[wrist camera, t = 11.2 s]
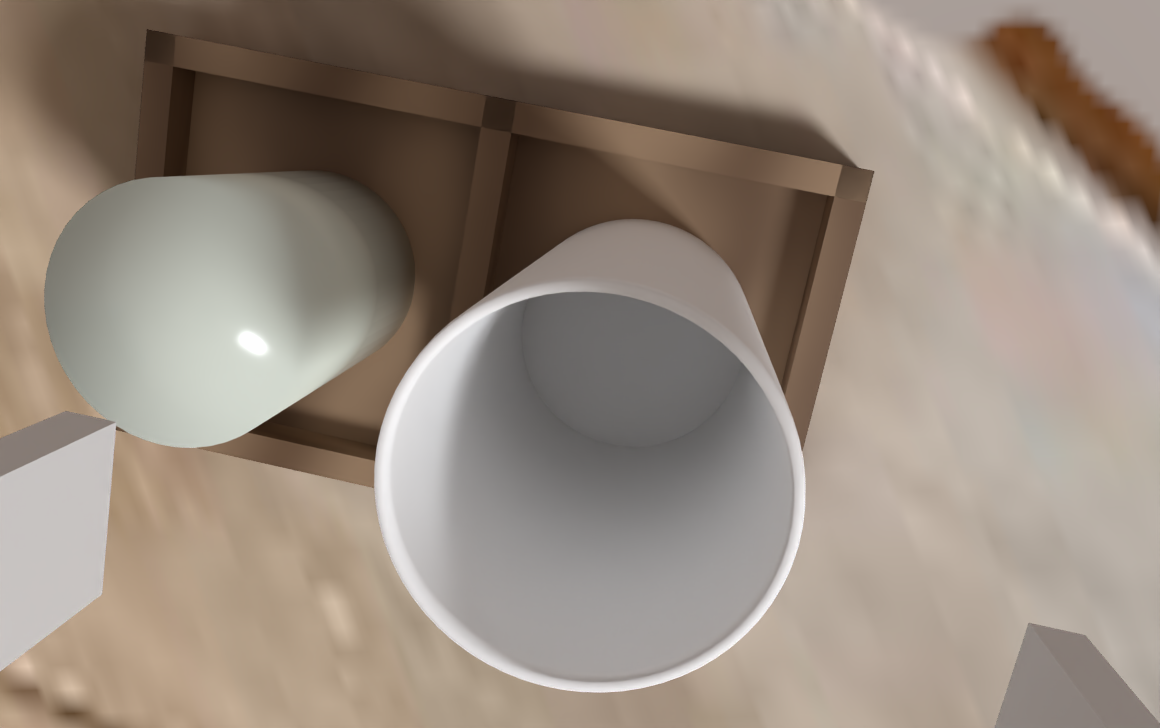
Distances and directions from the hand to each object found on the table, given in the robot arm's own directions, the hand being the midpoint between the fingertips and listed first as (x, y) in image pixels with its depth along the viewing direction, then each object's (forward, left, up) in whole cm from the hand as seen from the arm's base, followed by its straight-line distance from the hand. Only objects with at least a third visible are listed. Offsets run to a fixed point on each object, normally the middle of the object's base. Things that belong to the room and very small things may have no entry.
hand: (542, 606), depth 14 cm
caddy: (-6, 0, -22) cm, 22 cm away
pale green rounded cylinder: (-11, 0, -21) cm, 23 cm away
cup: (0, 0, -21) cm, 21 cm away
